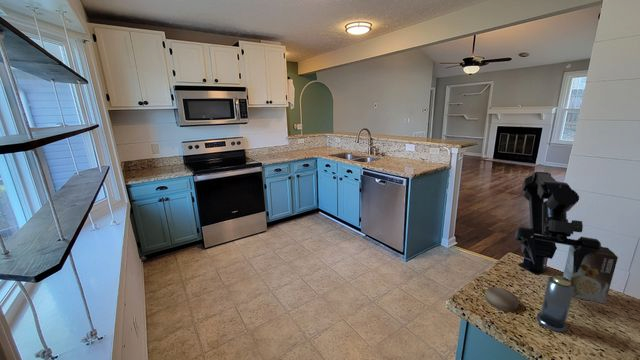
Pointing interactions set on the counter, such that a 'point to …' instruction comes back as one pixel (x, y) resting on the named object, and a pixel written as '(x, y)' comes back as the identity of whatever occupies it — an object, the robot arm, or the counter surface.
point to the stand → (501, 299)
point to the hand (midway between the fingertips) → (554, 268)
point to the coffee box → (591, 274)
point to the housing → (556, 304)
